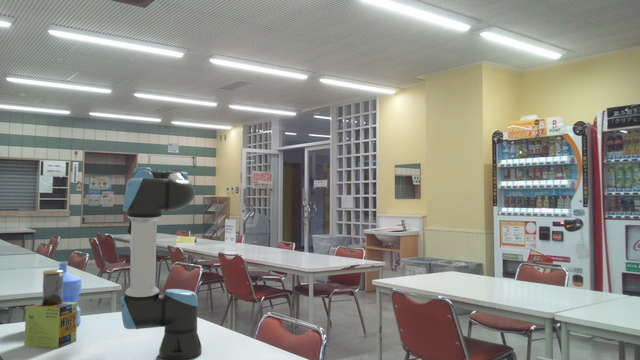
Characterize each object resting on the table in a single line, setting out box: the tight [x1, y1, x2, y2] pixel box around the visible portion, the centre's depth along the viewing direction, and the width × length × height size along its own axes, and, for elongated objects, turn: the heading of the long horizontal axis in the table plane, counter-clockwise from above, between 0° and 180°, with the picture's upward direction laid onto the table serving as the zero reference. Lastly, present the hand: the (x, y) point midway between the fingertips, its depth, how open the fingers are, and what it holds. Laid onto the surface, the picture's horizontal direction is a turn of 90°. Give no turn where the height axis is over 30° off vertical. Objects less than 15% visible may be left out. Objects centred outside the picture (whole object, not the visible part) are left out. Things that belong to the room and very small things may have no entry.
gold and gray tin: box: [41, 269, 64, 306], centre depth 196 cm, size 7×7×13 cm
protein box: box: [23, 301, 78, 349], centre depth 195 cm, size 10×15×16 cm
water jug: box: [58, 262, 83, 327], centre depth 223 cm, size 16×16×28 cm
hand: (141, 250), depth 218 cm, fingers open, 13 cm apart
